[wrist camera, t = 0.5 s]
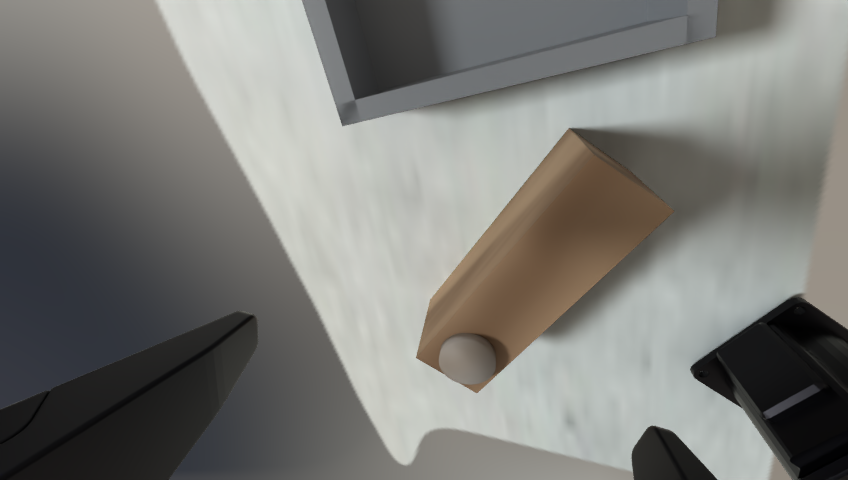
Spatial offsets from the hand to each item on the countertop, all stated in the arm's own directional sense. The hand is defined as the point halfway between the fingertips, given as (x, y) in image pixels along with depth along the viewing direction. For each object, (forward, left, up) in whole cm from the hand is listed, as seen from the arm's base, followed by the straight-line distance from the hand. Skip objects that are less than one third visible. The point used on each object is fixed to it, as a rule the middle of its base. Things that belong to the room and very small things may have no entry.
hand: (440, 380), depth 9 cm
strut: (-4, +1, -13) cm, 13 cm away
